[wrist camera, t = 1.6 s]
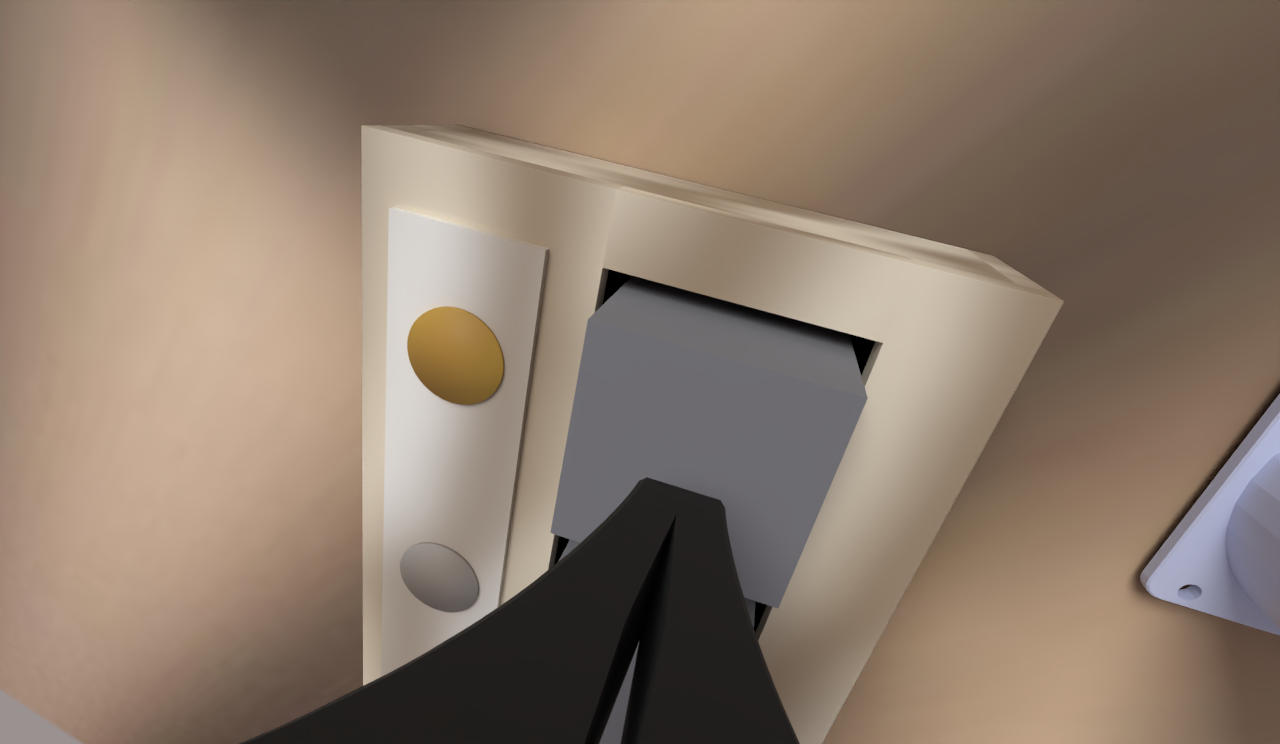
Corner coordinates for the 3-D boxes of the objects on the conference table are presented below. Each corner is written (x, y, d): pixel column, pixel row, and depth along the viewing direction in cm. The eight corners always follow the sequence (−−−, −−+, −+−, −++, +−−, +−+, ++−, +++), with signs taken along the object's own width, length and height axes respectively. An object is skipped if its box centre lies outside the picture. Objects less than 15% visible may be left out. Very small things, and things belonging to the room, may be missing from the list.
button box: (993, 255, 14) (1071, 306, 10) (734, 800, 24) (723, 931, 20) (458, 124, 16) (351, 125, 12) (423, 683, 26) (358, 782, 22)
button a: (848, 331, 13) (867, 398, 10) (780, 508, 15) (778, 608, 12) (633, 274, 14) (588, 319, 10) (597, 451, 16) (550, 532, 13)
